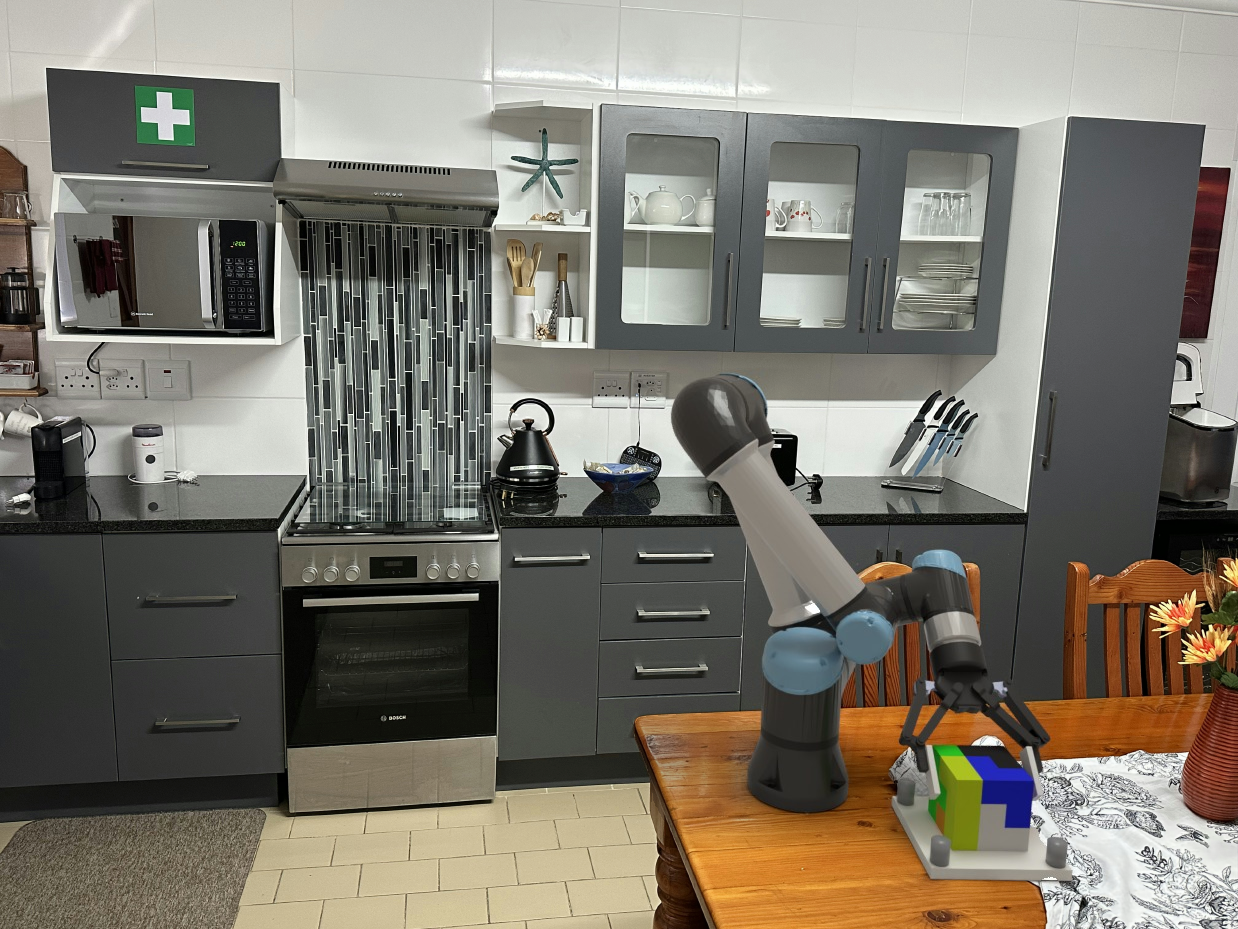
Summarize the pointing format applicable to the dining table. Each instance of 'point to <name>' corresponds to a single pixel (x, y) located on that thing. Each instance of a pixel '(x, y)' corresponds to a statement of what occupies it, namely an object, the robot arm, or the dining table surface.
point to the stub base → (975, 863)
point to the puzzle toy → (982, 798)
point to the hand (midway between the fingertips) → (986, 797)
